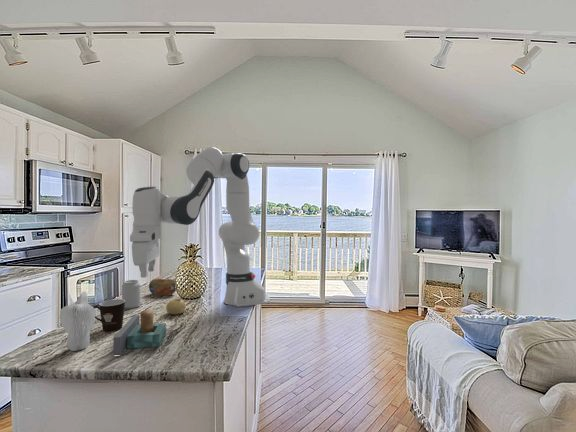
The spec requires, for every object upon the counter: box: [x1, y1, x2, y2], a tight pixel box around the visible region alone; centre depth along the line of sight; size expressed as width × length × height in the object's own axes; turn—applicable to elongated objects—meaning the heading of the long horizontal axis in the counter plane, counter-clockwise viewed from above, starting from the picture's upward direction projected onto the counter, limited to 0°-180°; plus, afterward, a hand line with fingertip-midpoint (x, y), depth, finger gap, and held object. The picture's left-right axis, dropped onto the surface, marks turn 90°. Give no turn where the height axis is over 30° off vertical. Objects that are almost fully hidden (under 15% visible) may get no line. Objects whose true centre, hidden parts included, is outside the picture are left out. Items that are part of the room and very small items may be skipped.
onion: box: [165, 297, 187, 316], centre depth 135 cm, size 8×8×7 cm
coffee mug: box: [93, 298, 125, 333], centre depth 118 cm, size 12×9×10 cm
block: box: [126, 322, 167, 349], centre depth 106 cm, size 10×10×4 cm
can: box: [121, 279, 141, 310], centre depth 143 cm, size 8×8×12 cm
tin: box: [148, 278, 177, 296], centre depth 164 cm, size 15×3×8 cm, turn 77°
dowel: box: [139, 310, 155, 333], centre depth 106 cm, size 4×4×10 cm
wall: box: [112, 314, 140, 356], centre depth 105 cm, size 2×20×6 cm, turn 10°
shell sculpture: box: [59, 290, 97, 352], centre depth 101 cm, size 8×8×18 cm
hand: (148, 274), depth 107 cm, fingers open, 8 cm apart
